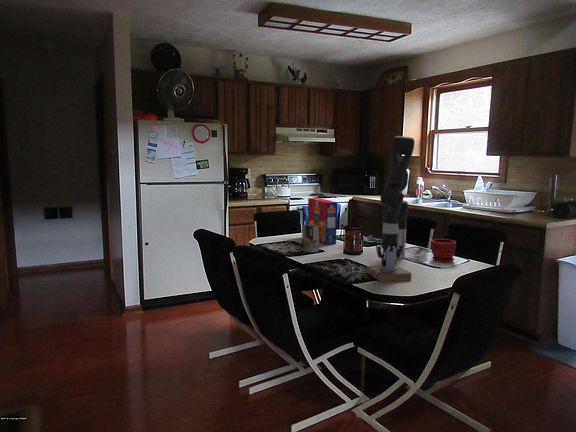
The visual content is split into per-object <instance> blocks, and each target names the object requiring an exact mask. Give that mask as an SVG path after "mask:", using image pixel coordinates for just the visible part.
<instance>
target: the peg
mask: <svg viewBox="0 0 576 432" xmlns="http://www.w3.org/2000/svg"><path fill="white" fill-rule="evenodd" d="M384 253H385V251H384ZM395 255H396V251H389V252H387V255H386V266H385V267H383V266H382V270H384V271H385V272H387V271H395V265H396V264H395Z"/></svg>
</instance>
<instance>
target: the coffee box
mask: <svg viewBox="0 0 576 432" xmlns="http://www.w3.org/2000/svg"><path fill="white" fill-rule="evenodd" d="M301 251H303V252H308V253H317V252H319V251H320V242H319V225H313V224H308V223H306V224H302V225H301Z"/></svg>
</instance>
